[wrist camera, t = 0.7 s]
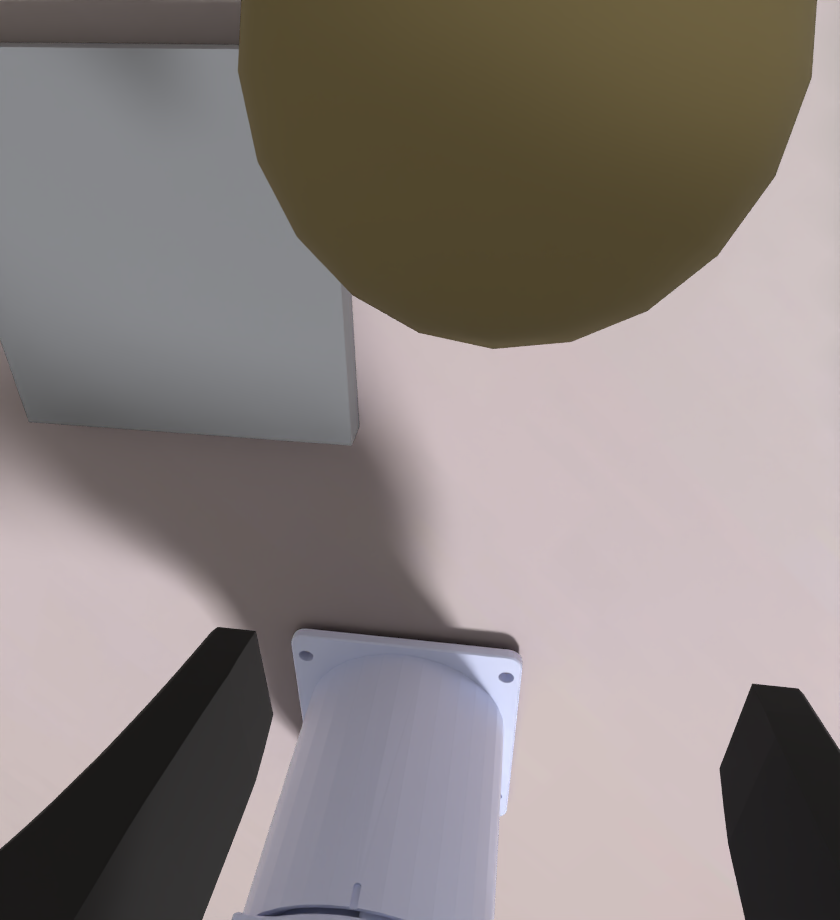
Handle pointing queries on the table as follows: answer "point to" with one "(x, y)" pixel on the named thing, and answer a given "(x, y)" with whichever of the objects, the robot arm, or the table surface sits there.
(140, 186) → the mat
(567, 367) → the table surface
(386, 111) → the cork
